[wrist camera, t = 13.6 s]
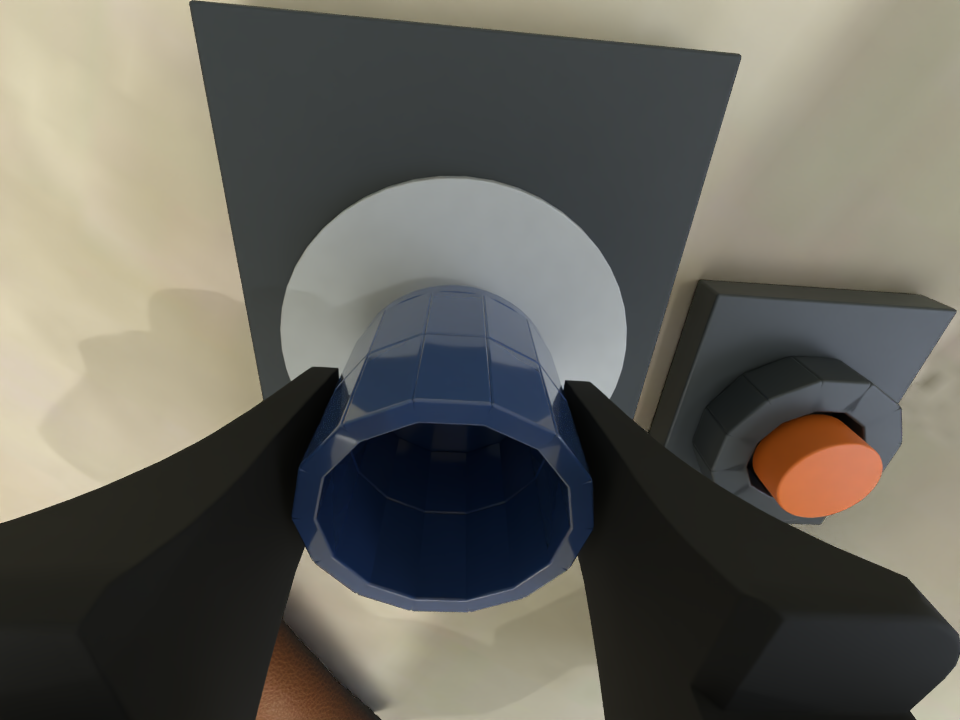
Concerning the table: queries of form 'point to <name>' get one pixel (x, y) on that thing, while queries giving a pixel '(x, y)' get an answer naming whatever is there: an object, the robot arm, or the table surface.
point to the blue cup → (446, 459)
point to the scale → (455, 178)
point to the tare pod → (789, 373)
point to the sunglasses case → (304, 687)
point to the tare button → (816, 466)
